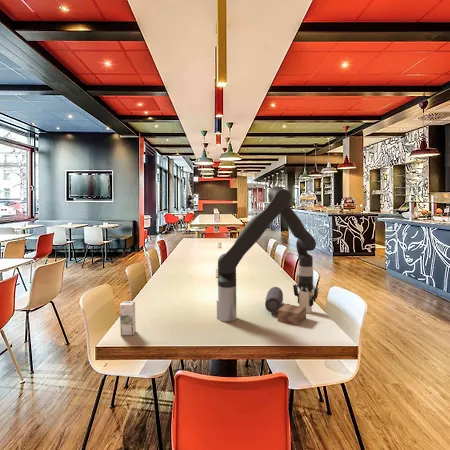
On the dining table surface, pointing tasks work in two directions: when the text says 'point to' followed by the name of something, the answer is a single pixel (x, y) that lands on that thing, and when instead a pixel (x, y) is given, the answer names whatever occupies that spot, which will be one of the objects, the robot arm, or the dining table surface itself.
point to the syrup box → (127, 318)
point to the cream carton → (305, 301)
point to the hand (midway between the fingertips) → (305, 304)
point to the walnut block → (292, 314)
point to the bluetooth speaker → (274, 299)
